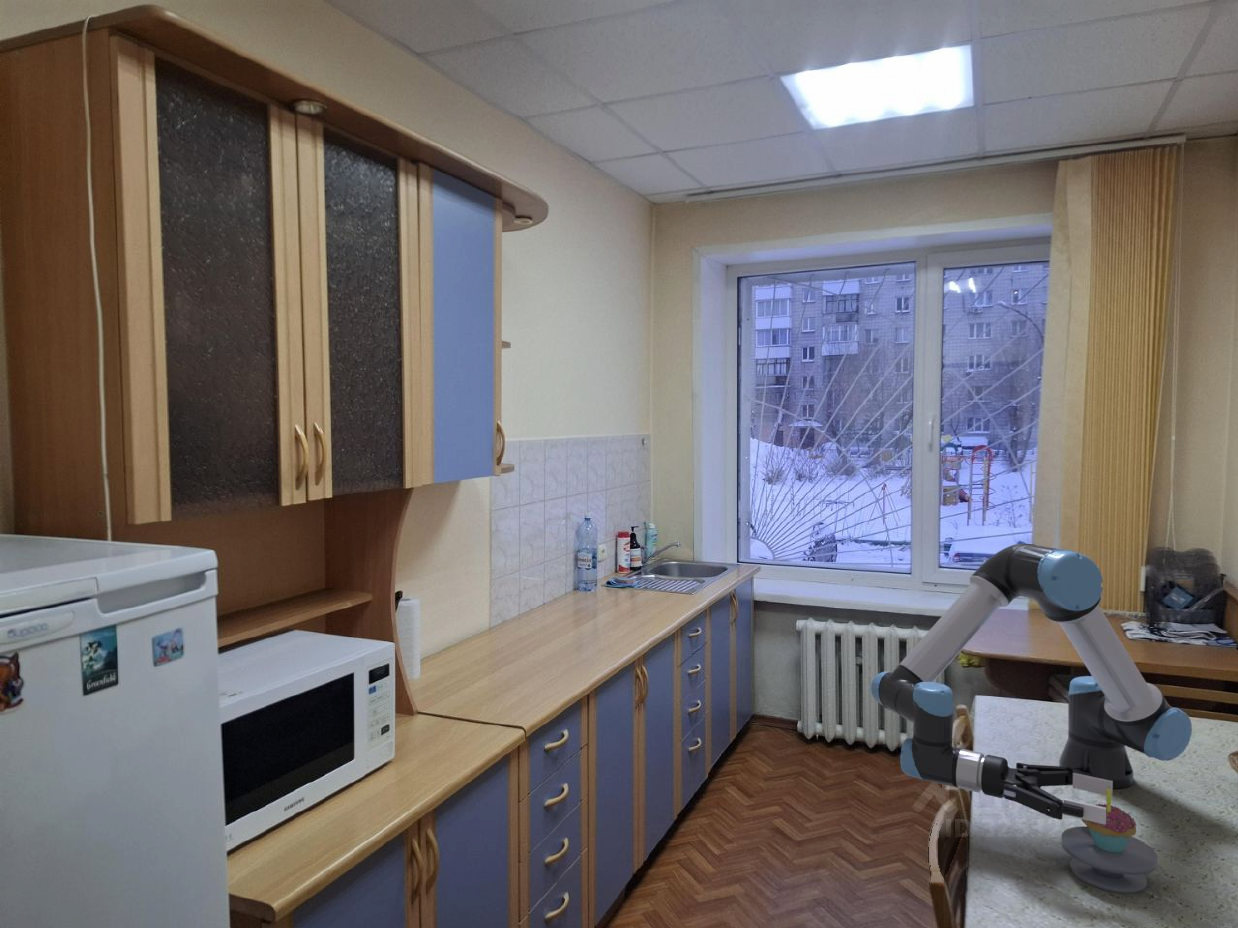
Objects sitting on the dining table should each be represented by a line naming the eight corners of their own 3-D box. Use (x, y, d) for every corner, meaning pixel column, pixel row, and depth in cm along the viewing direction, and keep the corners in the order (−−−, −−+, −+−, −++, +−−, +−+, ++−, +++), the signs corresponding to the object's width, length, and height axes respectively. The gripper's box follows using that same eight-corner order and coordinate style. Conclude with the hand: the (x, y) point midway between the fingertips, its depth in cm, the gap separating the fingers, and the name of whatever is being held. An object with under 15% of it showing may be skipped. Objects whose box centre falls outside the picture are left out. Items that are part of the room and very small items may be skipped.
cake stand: (1129, 856, 155) (1130, 828, 155) (1175, 900, 140) (1176, 870, 140) (1047, 851, 157) (1047, 824, 157) (1083, 895, 142) (1084, 865, 142)
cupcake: (1136, 862, 142) (1137, 795, 142) (1080, 849, 147) (1081, 784, 147) (1135, 841, 150) (1136, 777, 149) (1082, 830, 154) (1083, 767, 154)
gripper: (995, 771, 170) (1114, 797, 158) (968, 816, 150) (1102, 850, 138) (996, 735, 170) (1115, 759, 158) (969, 776, 150) (1103, 806, 138)
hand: (1109, 801), depth 148 cm, fingers open, 13 cm apart
